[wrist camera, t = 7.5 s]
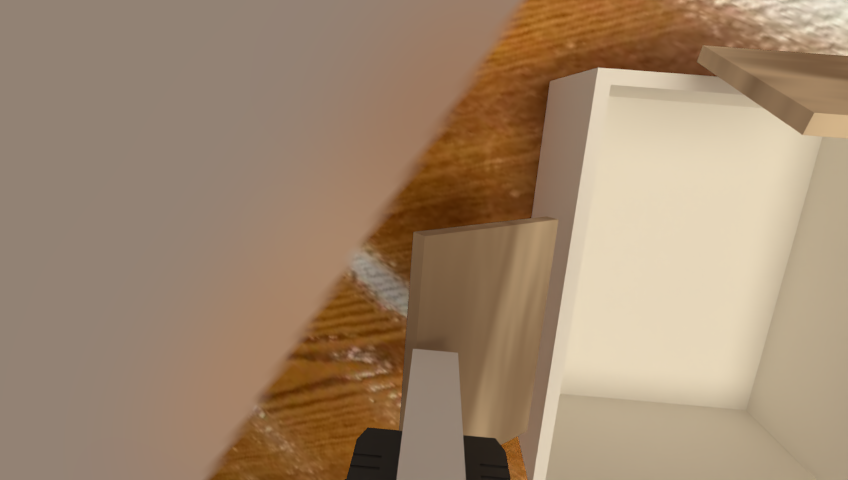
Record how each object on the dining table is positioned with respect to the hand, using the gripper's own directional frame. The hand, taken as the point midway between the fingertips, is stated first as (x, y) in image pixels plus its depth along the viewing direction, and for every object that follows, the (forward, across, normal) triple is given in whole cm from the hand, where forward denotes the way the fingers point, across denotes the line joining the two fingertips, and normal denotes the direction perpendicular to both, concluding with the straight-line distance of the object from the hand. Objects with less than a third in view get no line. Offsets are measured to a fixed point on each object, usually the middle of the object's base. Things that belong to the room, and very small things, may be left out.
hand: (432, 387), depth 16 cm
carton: (+15, +14, +1) cm, 20 cm away
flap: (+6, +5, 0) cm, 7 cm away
